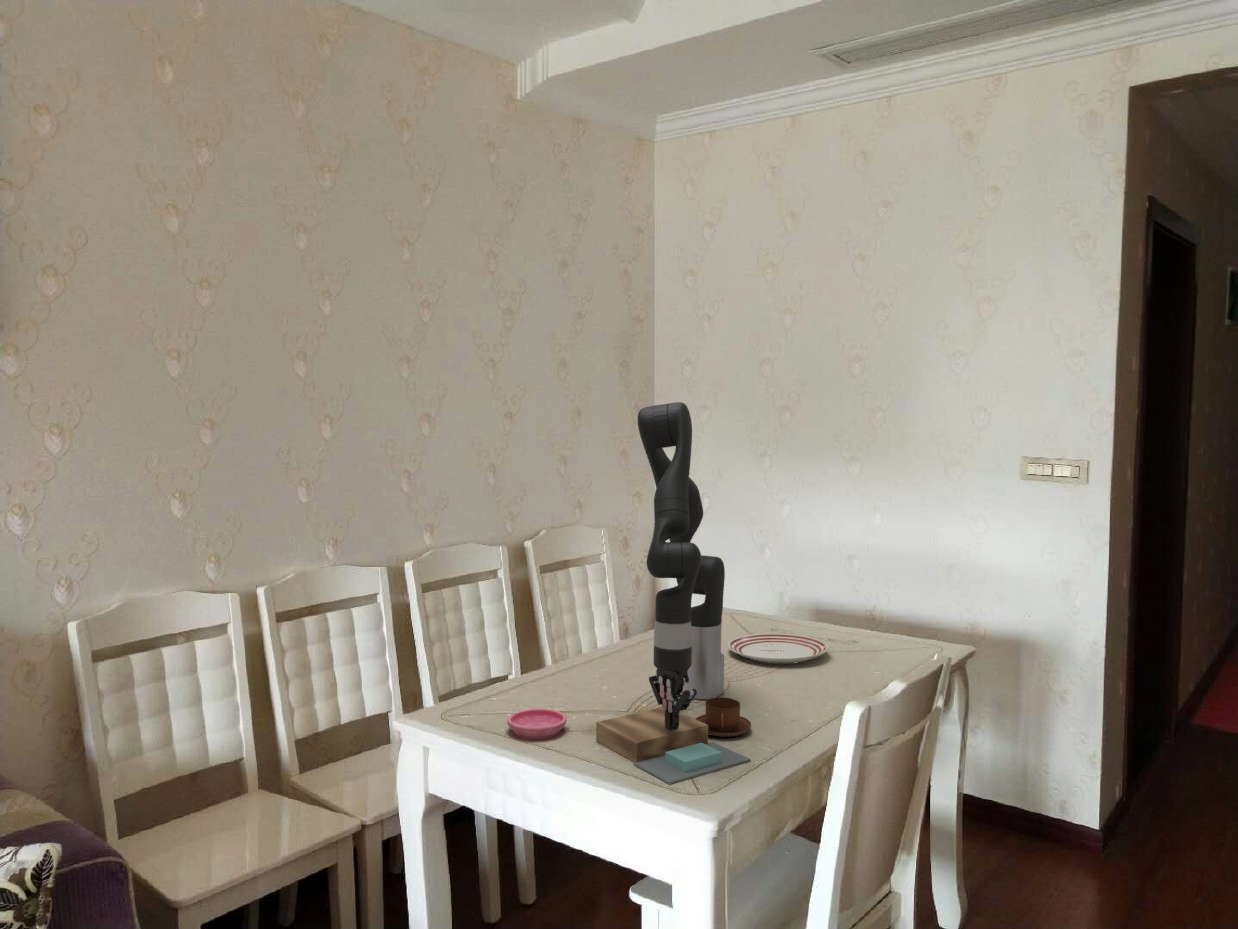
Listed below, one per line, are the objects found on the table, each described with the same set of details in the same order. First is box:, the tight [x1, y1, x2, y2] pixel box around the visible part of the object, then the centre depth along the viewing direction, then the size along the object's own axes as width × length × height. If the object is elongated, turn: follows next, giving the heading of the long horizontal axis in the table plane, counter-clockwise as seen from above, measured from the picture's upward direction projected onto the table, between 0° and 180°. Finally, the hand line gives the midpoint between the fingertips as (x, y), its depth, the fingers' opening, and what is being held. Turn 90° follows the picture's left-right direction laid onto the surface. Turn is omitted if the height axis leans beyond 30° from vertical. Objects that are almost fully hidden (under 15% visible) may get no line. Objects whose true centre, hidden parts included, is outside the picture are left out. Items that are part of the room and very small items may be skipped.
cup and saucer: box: [695, 697, 752, 738], centre depth 199 cm, size 12×12×6 cm
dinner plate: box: [727, 633, 829, 664], centre depth 259 cm, size 28×27×3 cm
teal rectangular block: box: [665, 743, 722, 772], centre depth 180 cm, size 9×6×2 cm, turn 125°
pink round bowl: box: [506, 708, 567, 740], centre depth 198 cm, size 12×12×3 cm
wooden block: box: [595, 706, 709, 763], centre depth 191 cm, size 18×14×4 cm
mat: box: [633, 741, 751, 785], centre depth 181 cm, size 20×11×1 cm, turn 125°
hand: (671, 729), depth 185 cm, fingers closed
